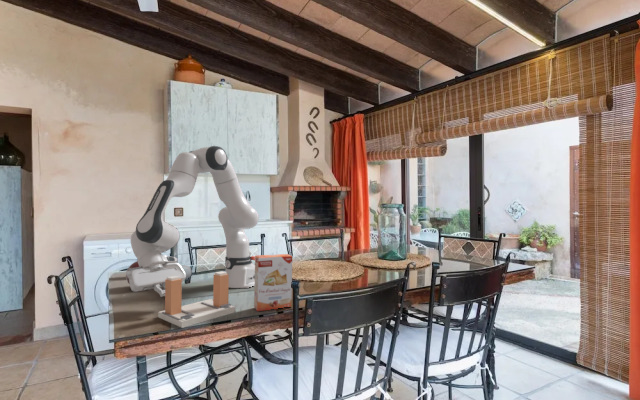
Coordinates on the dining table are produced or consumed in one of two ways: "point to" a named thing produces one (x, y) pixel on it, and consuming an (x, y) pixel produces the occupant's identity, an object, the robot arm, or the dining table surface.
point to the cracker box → (272, 281)
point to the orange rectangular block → (173, 295)
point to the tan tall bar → (220, 288)
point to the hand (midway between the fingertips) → (165, 295)
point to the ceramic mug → (187, 270)
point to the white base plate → (196, 313)
